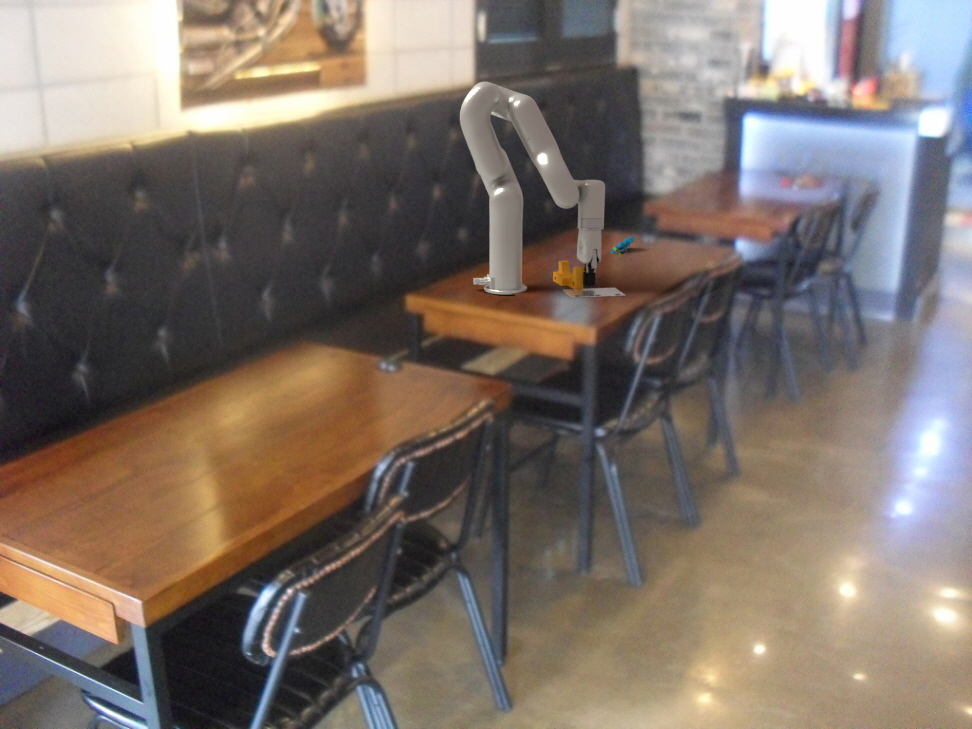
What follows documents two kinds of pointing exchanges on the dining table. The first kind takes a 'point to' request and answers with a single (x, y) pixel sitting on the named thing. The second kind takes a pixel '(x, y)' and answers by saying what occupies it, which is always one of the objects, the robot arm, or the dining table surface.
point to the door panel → (593, 292)
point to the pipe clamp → (569, 276)
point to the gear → (622, 246)
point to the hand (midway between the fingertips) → (588, 285)
